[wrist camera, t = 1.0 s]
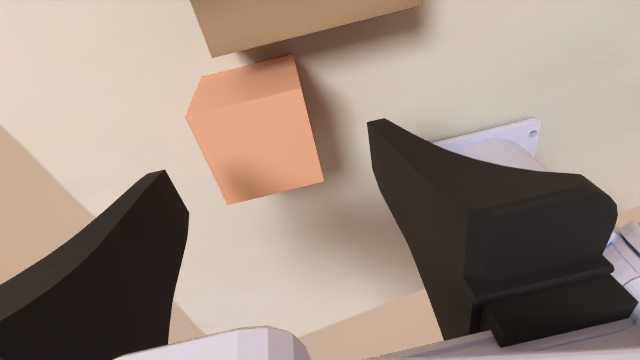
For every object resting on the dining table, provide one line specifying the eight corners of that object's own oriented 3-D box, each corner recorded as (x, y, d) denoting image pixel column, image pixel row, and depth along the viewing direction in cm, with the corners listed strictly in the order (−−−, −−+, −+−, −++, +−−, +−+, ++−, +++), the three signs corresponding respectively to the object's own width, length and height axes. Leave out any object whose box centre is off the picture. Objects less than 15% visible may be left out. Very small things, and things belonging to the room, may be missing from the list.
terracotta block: (312, 134, 22) (324, 181, 18) (233, 153, 22) (227, 205, 18) (292, 53, 19) (301, 88, 15) (201, 76, 19) (185, 116, 15)
